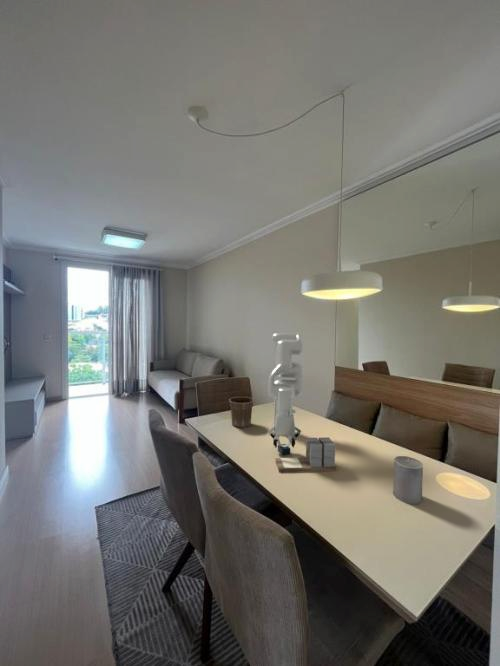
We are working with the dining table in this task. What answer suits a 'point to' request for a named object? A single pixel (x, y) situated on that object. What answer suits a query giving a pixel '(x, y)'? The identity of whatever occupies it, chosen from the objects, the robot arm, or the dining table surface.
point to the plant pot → (241, 411)
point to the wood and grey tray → (311, 457)
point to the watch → (284, 446)
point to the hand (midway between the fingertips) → (284, 446)
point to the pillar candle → (408, 479)
